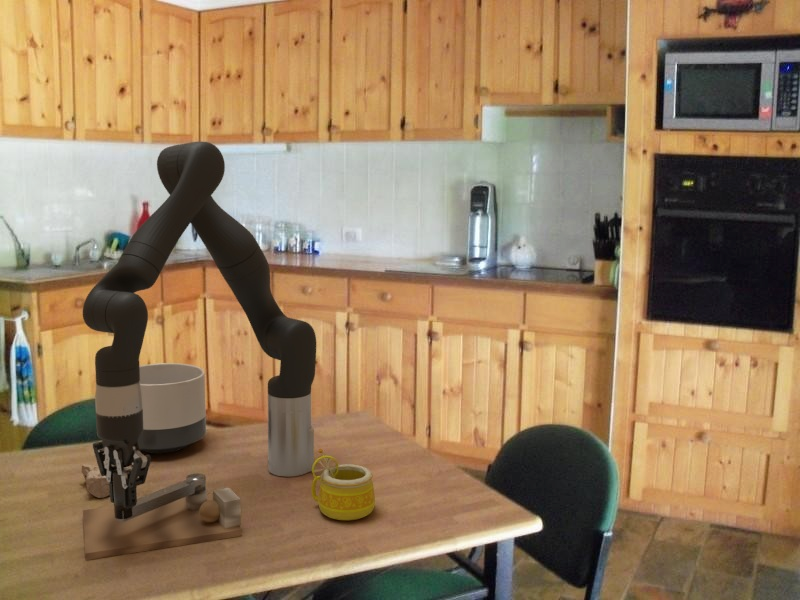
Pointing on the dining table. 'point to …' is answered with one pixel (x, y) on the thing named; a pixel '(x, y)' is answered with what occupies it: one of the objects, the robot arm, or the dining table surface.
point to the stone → (95, 481)
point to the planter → (172, 406)
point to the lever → (155, 495)
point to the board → (163, 525)
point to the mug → (344, 490)
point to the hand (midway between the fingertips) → (123, 503)
